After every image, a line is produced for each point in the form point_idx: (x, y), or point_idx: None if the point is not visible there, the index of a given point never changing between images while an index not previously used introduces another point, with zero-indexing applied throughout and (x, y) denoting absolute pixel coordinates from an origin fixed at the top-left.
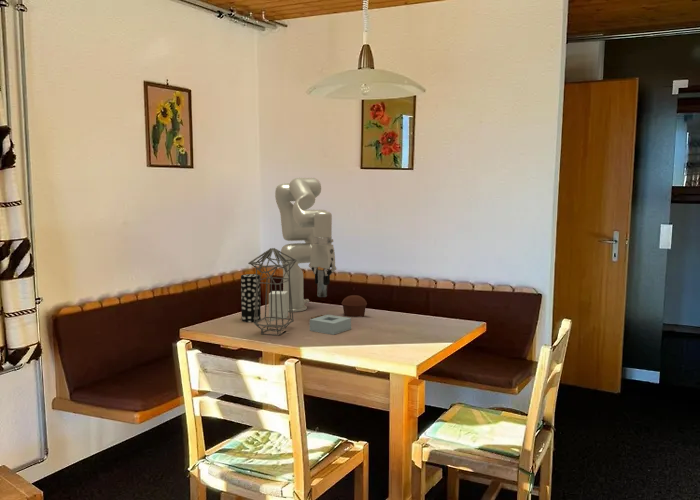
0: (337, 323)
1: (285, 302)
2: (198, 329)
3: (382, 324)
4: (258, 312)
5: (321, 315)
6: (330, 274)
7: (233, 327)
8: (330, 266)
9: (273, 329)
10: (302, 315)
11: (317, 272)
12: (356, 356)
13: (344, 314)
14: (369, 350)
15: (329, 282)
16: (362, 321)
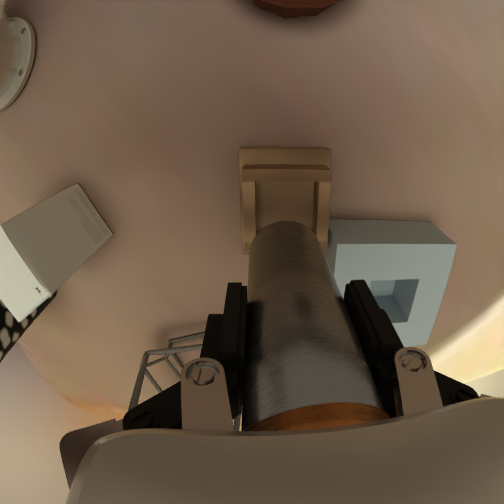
0: (431, 323)
1: (69, 264)
2: (66, 392)
3: (456, 45)
4: None
5: (254, 182)
6: (423, 365)
7: (84, 357)
8: (446, 417)
9: (180, 340)
10: (75, 98)
11: (232, 410)
12: (482, 372)
13: (258, 4)
14: (501, 333)
15: (367, 285)
16: (368, 24)
